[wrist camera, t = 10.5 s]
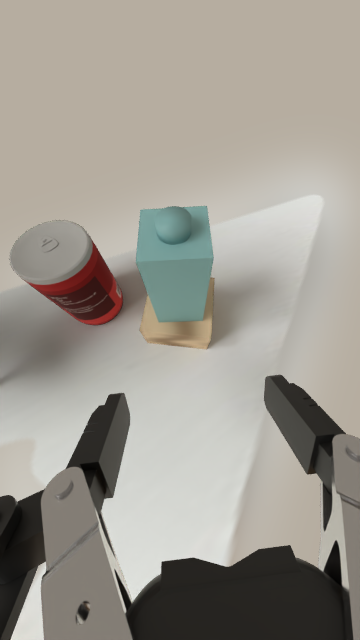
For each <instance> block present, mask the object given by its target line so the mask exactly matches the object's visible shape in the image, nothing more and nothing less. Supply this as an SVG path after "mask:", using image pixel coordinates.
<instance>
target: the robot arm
mask: <svg viewBox="0 0 360 640" xmlns="http://www.w3.org/2000/svg"><path fill="white" fill-rule="evenodd" d="M264 401H265V405H266V408H267V410H268V411H269V413H270V415H271V416H272V418H273V419H274V421H275V423H276V424H277V426H278V427H279V429H280V431H281V433H282V434H283V436H284V437H285V439H286V441H287V442H288V444H289V446H290V447H291V449H292V450H293V452H294V454H295V456H296V457H297V459H298V460H299V462H300V464H301V465H302V467H303V468H304V470H305V472H306V473H307V474H315V473H317V474H318V476H319V477H320V479H321V484H320V490H321V542H320V549H319V563H318V568H317V567H315V566H314V565H312V564H310V563H308V562H306V561H303V560H301V559H299V558H295V556H294V553H293V551H292V548H291V546H290V545H288V546H280V547H273V548H265V549H258V550H257V551H255V552H254V553H252V554H250V555H249V556H247V557H246V558H244V559H242V560H241V561H239V562H237V563H236V564H234V565H233V566H230V567H225V566H221V565H218V564H214V563H210V562H207V561H203V560H200V559H196V558H187V559H179V560H172V561H164V562H162V566H161V574H160V575H158V576H157V577H155V578H154V579H153V580H152V581H150V582H149V583H148V584H147V585H146V586H145V587H144V588H143V590H142V591H141V592H140V593H139V594H138V596H137V597H136V598H135V600H134V601H132V598H131V595H130V592H129V589H128V587H127V584H126V581H125V578H124V576H123V573H122V571H121V568H120V565H119V563H118V560H117V557H116V554H115V551H114V548H113V545H112V542H111V539H110V536H109V533H108V530H107V527H106V524H105V521H104V518H103V515H102V512H101V509H102V506H103V502H104V499H106V498H113V495H114V491H115V487H116V482H117V478H118V474H119V469H120V465H121V460H122V456H123V452H124V447H125V443H126V439H127V434H128V430H129V426H130V413H129V409H128V405H127V401H126V398H125V394H124V393H118V394H110V395H109V396H108V398H107V400H106V403H105V405H101V406H99V407H98V408H97V409H96V410H95V411H94V412H93V413H92V415H91V417H90V419H89V421H88V423H87V425H86V428H85V430H84V433H83V434H82V436H81V438H80V440H79V442H78V444H77V446H76V449H75V451H74V453H73V455H72V457H71V459H70V461H69V463H68V465H67V467H66V469H65V470H63V471H61V472H60V473H59V474H57V475H56V476H55V477H54V478H53V479H52V480H51V481H50V482H49V484H48V485H47V487H46V488H45V489H44V490H42V491H40V492H38V493H35V494H33V495H31V496H29V497H27V498H25V499H22V500H20V501H18V502H17V501H16V500H15V498H13V497H12V496H10V495H6V496H2V497H0V640H10V639H11V636H12V634H13V631H14V628H15V626H16V623H17V621H18V618H19V615H20V613H21V610H22V607H23V605H24V602H25V599H26V597H27V594H28V592H29V589H30V586H31V584H32V581H33V578H34V576H35V573H36V571H37V568H38V566H39V565H40V564H42V563H44V562H46V573H45V574H44V575H43V577H42V581H41V600H42V615H43V630H44V640H360V439H359V438H356V437H354V436H351V435H347V434H346V433H345V432H344V431H343V430H342V429H341V428H340V427H339V426H338V425H337V424H336V423H335V422H334V421H333V420H332V419H331V418H330V417H329V416H328V415H327V414H326V413H325V411H324V410H323V409H322V408H321V407H320V406H318V405H317V403H316V402H315V401H314V400H313V399H311V397H310V396H309V395H308V394H307V393H306V392H305V391H304V390H303V389H302V388H300V387H299V386H297V385H295V384H294V383H290V384H289V383H288V381H287V380H286V379H285V378H284V377H283V376H282V375H274V376H267V377H266V379H265V391H264Z"/></svg>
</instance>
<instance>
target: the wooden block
mask: <svg viewBox="0 0 360 640" xmlns="http://www.w3.org/2000/svg"><path fill="white" fill-rule="evenodd" d="M213 295H214V278H210V281H209V287H208V293H207V299H206V304H205V310H204V316H203V321H184V322H160V323H159V322H158V319H157V317H156V314H155V311H154V309H153V306H152V303H151V301H150V298H149V295H147V299H146V304H145V308H144V313H143V317H142V322H141V326H140V332H141V334H142V335H143V337H144V338H145V340H146V341H147V343H153V344H163V345H172V346H181V347H190V348H200V349H207V347H208V345H209V342H210V340H211V332H212V314H213Z"/></svg>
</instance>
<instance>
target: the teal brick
mask: <svg viewBox="0 0 360 640" xmlns="http://www.w3.org/2000/svg"><path fill="white" fill-rule="evenodd" d="M208 219H209V218H208V211H207V206H198V207H176V206H174V207H173V206H172V207H167V208H164V209H163V208H162V209H145V210H140V221H139V232H138V243H137V254H136V264H137V266H138V269H139V272H140V274H141V277H142V280H143V282H144V285H145V288H146V290H147V293H148V295H149V298H150V301H151V303H152V306H153V309H154V311H155V314H156V317H157V319H158V322H159V323H160V322H184V321H203V316H204V310H205V304H206V299H207V293H208V287H209V281H210V276H211V270H212V264H213V258H214V257H213V250H212V242H211V234H210V226H209V220H208Z"/></svg>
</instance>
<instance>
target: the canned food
mask: <svg viewBox="0 0 360 640" xmlns="http://www.w3.org/2000/svg"><path fill="white" fill-rule="evenodd" d="M9 260H10V265H11V267H12V269H13V270H14V271H15V272H16V273H17V274H18V275H19V276H20V277H21V278H22V279H23V280H24V281H26V282H27V283H28V284H30V285H31V286H32V287H33V288H35V289H36V290H37V291H39V292H40V293H42V294H43V295H44V296H46V297H47V298H48V299H50V300H51V301H52V302H54V303H55V304H56V305H58V306H59V307H61V308H62V309H63V310H65V311H66V312H67V313H69V314H70V315H71V316H73V317H74V318H75V319H77V320H78V321H80V322H82V323H85V324H90V325H100V324H104V323H106V322H109V321H110V320H112V319H113V318H114V317H115V316H116V315H117V314H118V313H119V311H120V309H121V307H122V303H123V296H122V291H121V289H120V287H119V285H118V284H117V282H116V280H115V279H114V277H113V275H112V273H111V272H110V270H109V268H108V266H107V265H106V263H105V261H104V259H103V258H102V256H101V254H100V253H99V251H98V249H97V248H96V246H95V244H94V243H93V241H92V239H91V238H90V236H89V235H88V234H87V232H86V231H85V230H84V228H83V227H81V226H80V225H78V224H76V223H74V222H70V221H64V220H56V221H50V222H45V223H42V224H39V225H37V226H35V227H33V228H31V229H29V230H28V231H26V232H25V233H24V234H23V235H21V236H20V238H18V240H17V241H16V242H15V244H14V245H13V247H12V249H11V252H10V259H9Z"/></svg>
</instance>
